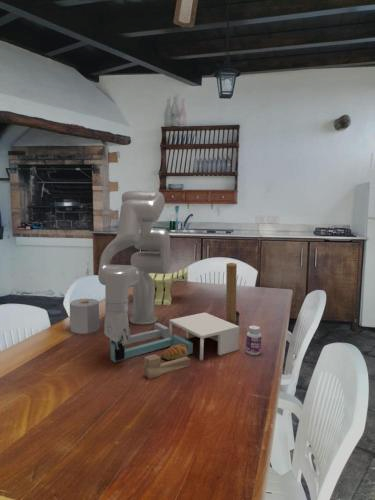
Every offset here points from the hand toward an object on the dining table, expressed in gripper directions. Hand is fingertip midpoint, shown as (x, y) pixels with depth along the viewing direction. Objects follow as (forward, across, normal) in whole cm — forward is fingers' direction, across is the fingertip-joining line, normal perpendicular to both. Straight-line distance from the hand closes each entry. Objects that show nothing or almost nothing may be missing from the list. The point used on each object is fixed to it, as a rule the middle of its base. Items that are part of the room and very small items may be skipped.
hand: (117, 357), depth 131 cm
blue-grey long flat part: (+1, +5, +11) cm, 12 cm away
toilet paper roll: (+1, -35, +2) cm, 36 cm away
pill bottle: (+1, +22, +44) cm, 49 cm away
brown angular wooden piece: (+1, +17, +10) cm, 19 cm away
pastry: (+1, +9, +18) cm, 20 cm away
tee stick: (+1, -11, +16) cm, 20 cm away
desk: (+1, +7, +32) cm, 33 cm away
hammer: (+2, -1, +54) cm, 54 cm away
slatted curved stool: (+2, -56, +53) cm, 77 cm away
